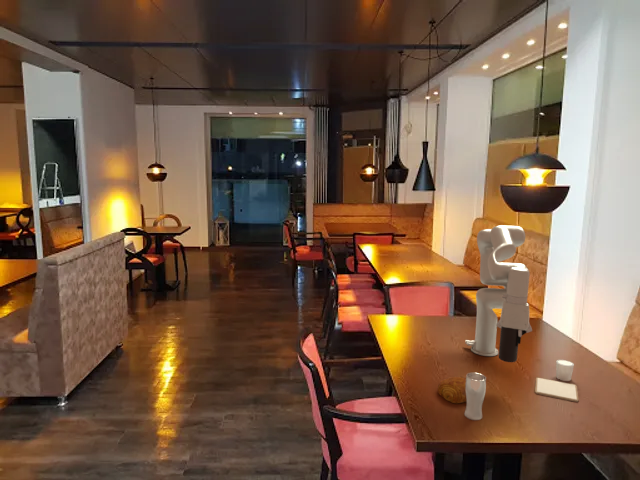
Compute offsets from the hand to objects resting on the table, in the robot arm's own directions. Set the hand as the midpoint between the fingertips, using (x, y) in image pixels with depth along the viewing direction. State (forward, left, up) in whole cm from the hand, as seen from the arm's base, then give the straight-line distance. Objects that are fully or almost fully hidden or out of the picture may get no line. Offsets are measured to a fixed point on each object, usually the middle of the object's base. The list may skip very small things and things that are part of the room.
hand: (512, 343), depth 185 cm
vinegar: (-1, +1, -7) cm, 7 cm away
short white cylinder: (+20, +25, -20) cm, 38 cm away
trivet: (+17, +11, -20) cm, 28 cm away
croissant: (-18, -13, -20) cm, 30 cm away
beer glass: (-10, -26, -20) cm, 35 cm away
